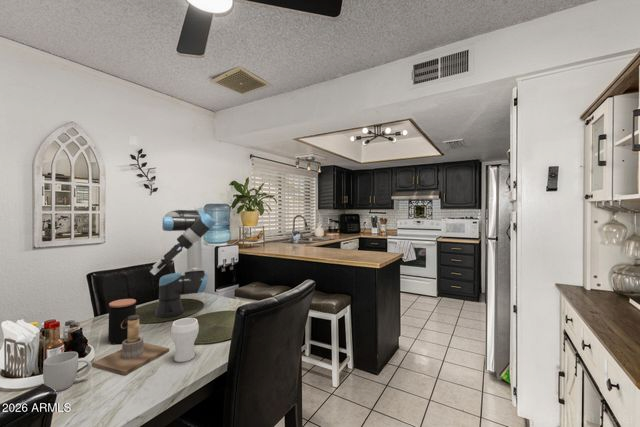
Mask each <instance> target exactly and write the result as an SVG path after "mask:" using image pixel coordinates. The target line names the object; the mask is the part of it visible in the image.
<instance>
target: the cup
mask: <svg viewBox="0 0 640 427" xmlns="http://www.w3.org/2000/svg"><path fill="white" fill-rule="evenodd" d="M170 328H171V329H170V338H171V341H172V342H173V344H174V346H175V352H174V358H173V359H174V361H175V362H177V363H184V362H189V361H190V360H193V359H194V357H195V356H196V355H195V349H194V347H195V346H194V345H195V342H196V339H197V338H198V333H199V332H200V331H199V328H200V325H199V322H198V319H197V318H194V317H185V318H180V319H177V320H174V321H173V323H172V324H171V327H170Z"/></svg>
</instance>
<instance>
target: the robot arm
mask: <svg viewBox="0 0 640 427" xmlns="http://www.w3.org/2000/svg"><path fill="white" fill-rule="evenodd" d="M215 225H216V221H215V219H214V218H212V216H210V215H209V214H208V213H205V211H203V210H197V209H195V210H194V209H193V210H192V209H187V210H185V209H175V210H171V211H169V212H167V213H165V215H164V216H163V217H162V230H163V231H164V232H165V231H166V232H181V231H182V232H183V231H184V232H183V234H181V235H180V236H178V237H177V238H176V241H177V242H178V243H177V244H174V245H173V247H171V248H170V250H169V251H167V252H166V253H165V254H164V255H163V256H162V257H161V258H160V259H158V261H156V263H154V264H153V265H152V268H151V269H150V271H149V273H150V274H152V275H153V276H155V275H157V273H159V272H160V271H161V270H162V269H163V268H164V267H166V265H168V264H169V263H170V262H171V261H172V260H173V259H174V258H175V257H176V256H177V255H179V254H180V253H181V252H182V251H183V248H185V249H186V265H187V268H186V270H185V272H184V274H183V275H182V273H180V272H174V273H173V272H171V273H169V274H165V275H162V276H161V277H160V278H159V281H158V282H159V283H158V286H159V287H158V302H157V305H156V306H157V307H156V309H155V311H154V315H155V317H156V318H171V317H176V315H177V316H179V315H181V314H183V313H184V306H183V303H182V300H181V296H182V295H190V294H201V293H204V292H205V291H206V289H207V285H208V274H207V273H205V270H204V269H203V264H202V262H203V259H202V257H203V254H202V248H203V247H202V237H203V236H204V235H205V234H206V233H207V232H209V231H210V230H211V229H213V227H214V226H215ZM182 312H183V313H182Z"/></svg>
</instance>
